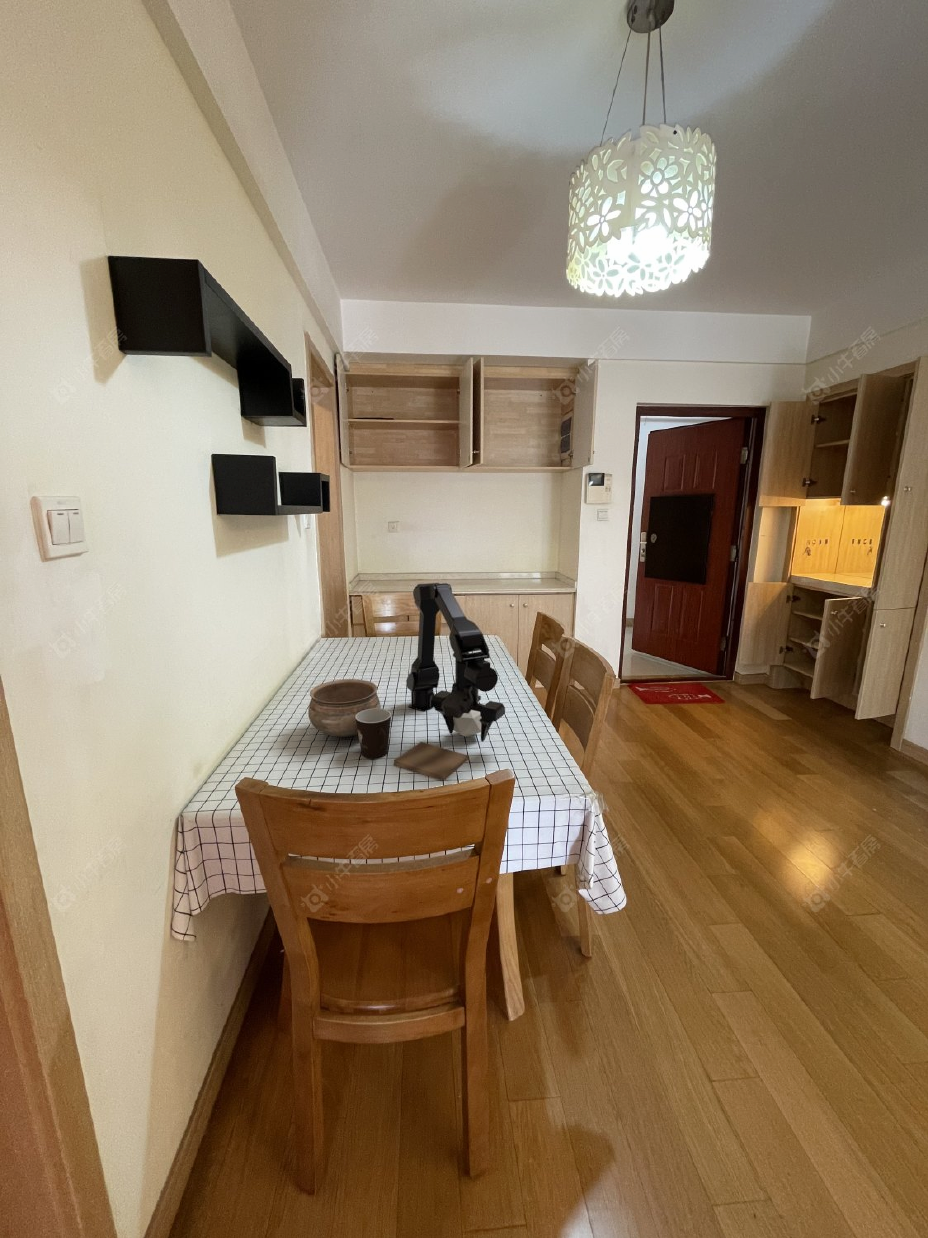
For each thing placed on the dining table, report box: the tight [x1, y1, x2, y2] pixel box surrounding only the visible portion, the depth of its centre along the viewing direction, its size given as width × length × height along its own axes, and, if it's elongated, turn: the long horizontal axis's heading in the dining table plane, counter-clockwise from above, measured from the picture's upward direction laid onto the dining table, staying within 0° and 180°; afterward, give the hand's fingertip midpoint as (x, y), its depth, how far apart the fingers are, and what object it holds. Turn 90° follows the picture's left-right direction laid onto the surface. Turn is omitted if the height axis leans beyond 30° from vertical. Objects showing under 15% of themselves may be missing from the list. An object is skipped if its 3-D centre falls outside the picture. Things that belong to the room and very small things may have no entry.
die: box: [453, 710, 482, 738], centre depth 127 cm, size 8×9×10 cm
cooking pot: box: [307, 678, 382, 739], centre depth 130 cm, size 25×19×12 cm
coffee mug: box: [355, 708, 392, 760], centre depth 118 cm, size 12×9×10 cm
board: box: [393, 741, 469, 782], centre depth 116 cm, size 14×11×1 cm
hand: (466, 736), depth 122 cm, fingers open, 9 cm apart
